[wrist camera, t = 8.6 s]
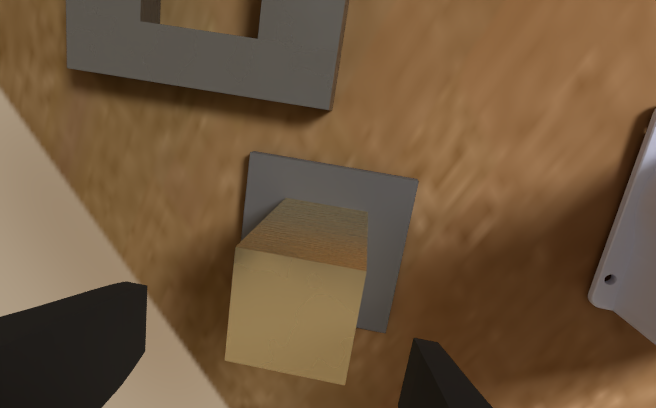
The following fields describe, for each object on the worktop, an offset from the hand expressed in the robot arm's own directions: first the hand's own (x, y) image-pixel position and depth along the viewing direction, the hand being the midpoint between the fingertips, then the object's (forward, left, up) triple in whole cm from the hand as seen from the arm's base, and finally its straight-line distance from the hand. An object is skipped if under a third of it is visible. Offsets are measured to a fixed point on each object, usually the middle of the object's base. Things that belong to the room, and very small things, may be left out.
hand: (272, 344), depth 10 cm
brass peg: (0, 0, -9) cm, 9 cm away
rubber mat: (0, 0, -9) cm, 9 cm away
